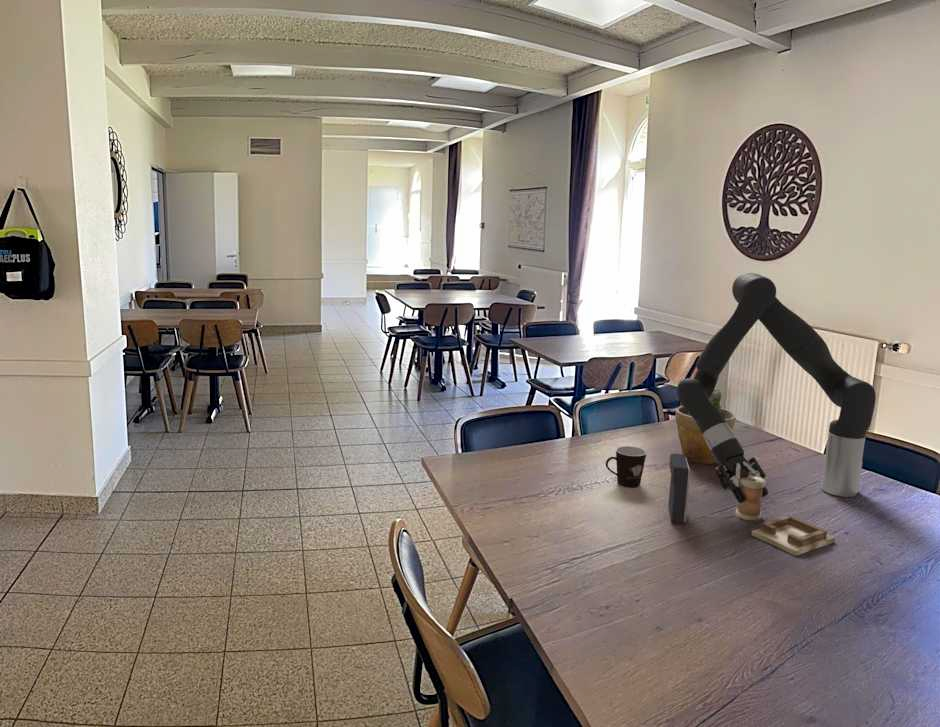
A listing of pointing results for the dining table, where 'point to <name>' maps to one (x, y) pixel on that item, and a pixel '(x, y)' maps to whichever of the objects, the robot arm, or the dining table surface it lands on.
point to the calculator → (678, 488)
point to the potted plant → (699, 432)
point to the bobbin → (751, 498)
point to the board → (793, 535)
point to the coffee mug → (629, 465)
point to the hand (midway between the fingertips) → (754, 498)
